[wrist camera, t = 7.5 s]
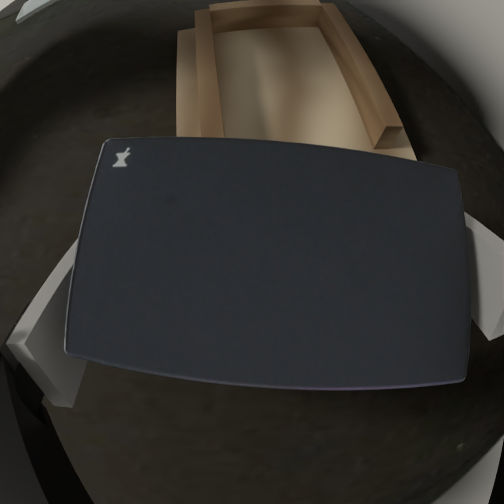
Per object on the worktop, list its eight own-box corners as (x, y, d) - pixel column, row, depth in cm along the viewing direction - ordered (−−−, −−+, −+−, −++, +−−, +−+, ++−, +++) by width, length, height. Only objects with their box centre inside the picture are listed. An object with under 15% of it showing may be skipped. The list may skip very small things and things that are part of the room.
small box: (165, 351, 16) (49, 362, 6) (178, 237, 18) (99, 129, 8) (357, 365, 16) (474, 391, 6) (360, 250, 18) (459, 157, 7)
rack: (182, 194, 19) (167, 163, 15) (180, 40, 23) (172, 9, 19) (410, 170, 19) (433, 140, 15) (342, 29, 23) (349, -1, 19)
